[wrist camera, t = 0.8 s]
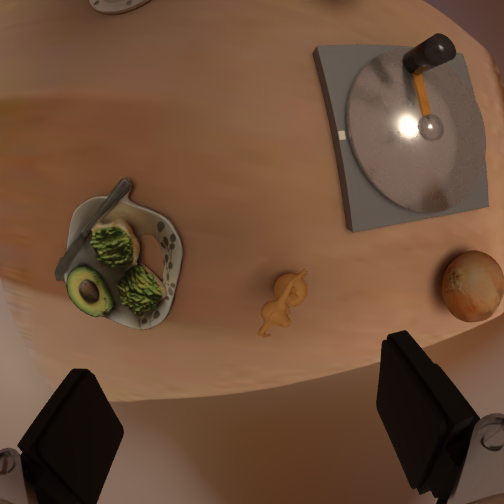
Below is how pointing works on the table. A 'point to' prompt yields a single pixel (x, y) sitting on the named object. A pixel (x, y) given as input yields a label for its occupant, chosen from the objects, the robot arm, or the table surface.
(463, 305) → the onion
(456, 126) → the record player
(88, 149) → the table surface
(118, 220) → the avocado toast plate
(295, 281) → the figurine
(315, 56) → the instrument base
